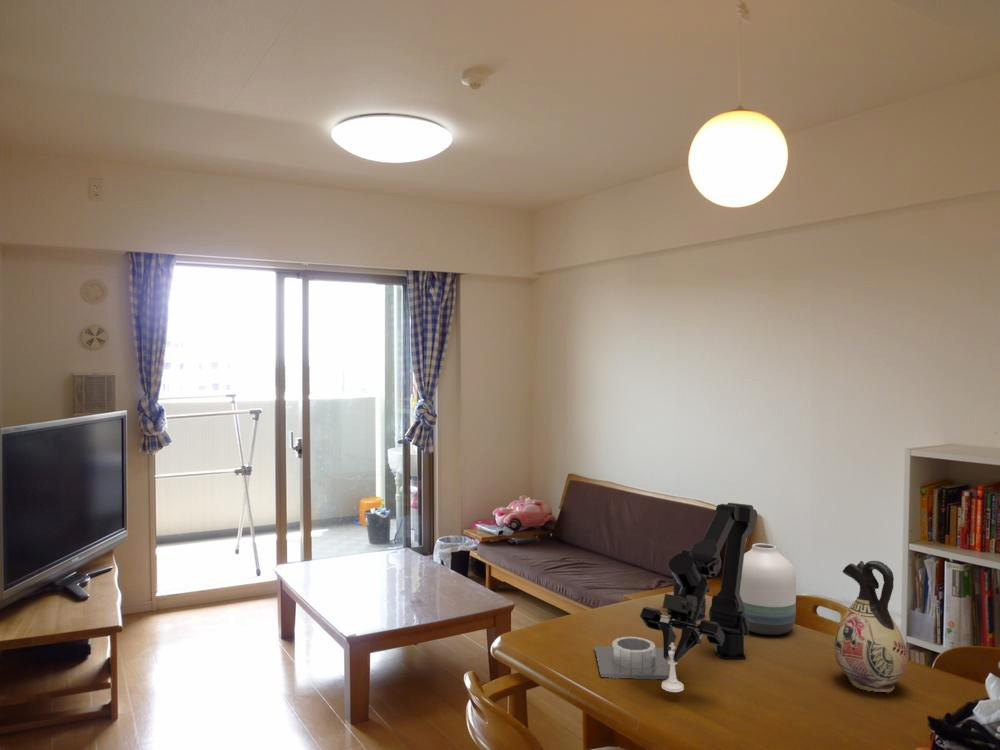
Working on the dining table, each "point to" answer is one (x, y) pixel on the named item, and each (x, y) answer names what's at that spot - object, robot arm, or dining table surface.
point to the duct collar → (632, 659)
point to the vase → (768, 590)
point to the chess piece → (672, 674)
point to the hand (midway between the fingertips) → (669, 659)
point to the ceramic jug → (870, 633)
